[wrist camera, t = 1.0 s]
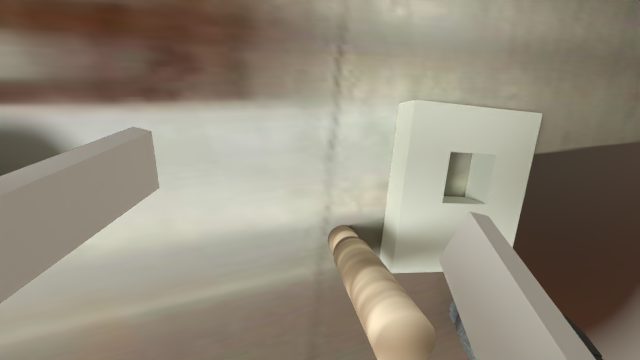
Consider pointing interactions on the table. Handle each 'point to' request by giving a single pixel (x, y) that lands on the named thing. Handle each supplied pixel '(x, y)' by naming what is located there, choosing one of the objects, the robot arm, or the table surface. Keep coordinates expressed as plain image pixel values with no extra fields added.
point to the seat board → (431, 171)
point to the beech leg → (380, 301)
